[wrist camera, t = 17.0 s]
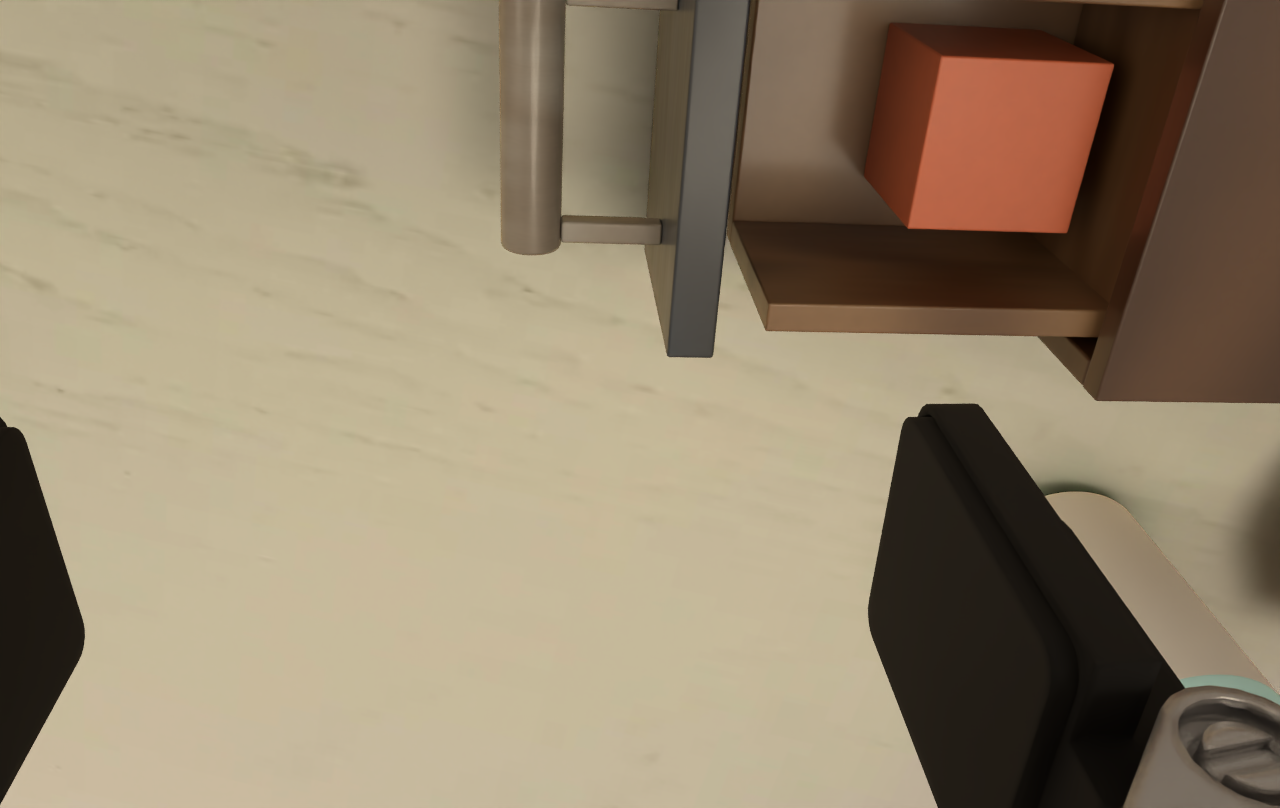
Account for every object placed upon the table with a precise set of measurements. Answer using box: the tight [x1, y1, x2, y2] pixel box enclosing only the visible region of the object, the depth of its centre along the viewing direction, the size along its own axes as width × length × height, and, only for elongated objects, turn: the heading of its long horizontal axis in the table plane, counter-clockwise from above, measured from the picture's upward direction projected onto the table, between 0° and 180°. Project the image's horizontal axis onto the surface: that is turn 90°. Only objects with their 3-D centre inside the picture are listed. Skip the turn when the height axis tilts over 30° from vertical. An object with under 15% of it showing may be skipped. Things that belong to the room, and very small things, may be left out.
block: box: [864, 23, 1114, 233], centre depth 28 cm, size 4×4×4 cm
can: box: [1045, 492, 1280, 705], centre depth 36 cm, size 7×7×12 cm
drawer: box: [499, 0, 1204, 358], centre depth 27 cm, size 17×10×7 cm, turn 87°
